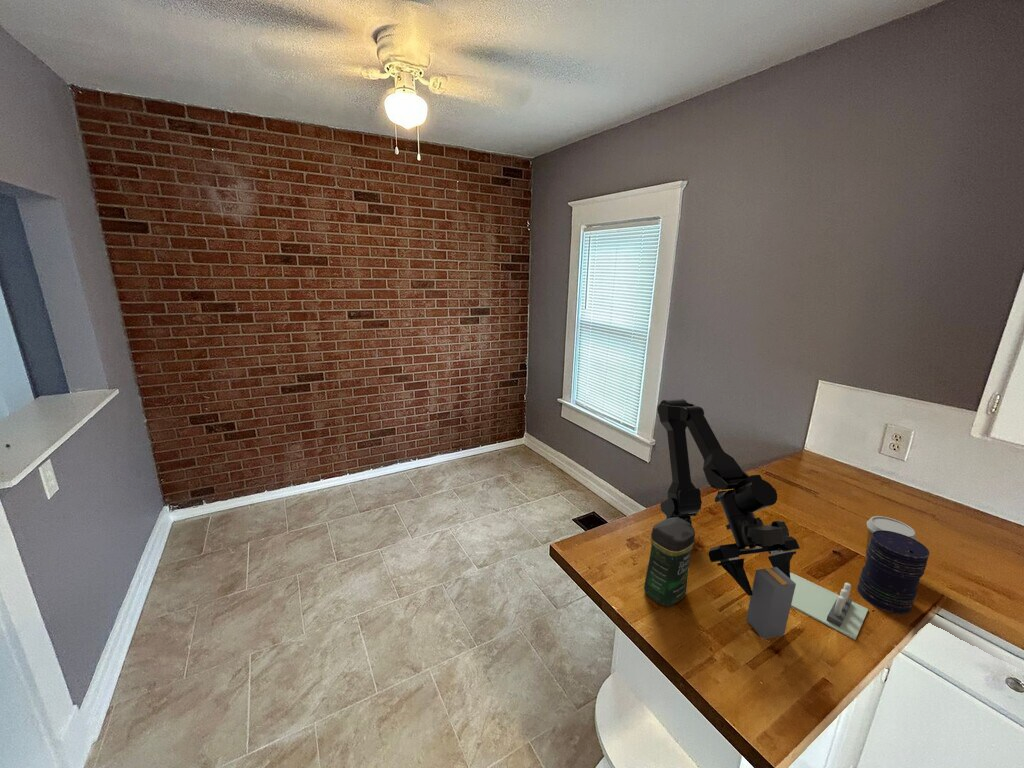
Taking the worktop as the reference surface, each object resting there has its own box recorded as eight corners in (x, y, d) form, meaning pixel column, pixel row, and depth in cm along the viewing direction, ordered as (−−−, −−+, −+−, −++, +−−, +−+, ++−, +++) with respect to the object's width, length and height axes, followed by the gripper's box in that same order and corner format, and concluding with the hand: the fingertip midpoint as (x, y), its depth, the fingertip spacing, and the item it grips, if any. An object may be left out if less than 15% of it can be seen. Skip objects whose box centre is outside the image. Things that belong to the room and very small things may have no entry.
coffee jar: (667, 613, 93) (677, 541, 88) (638, 591, 99) (645, 523, 94) (692, 594, 99) (702, 525, 94) (663, 574, 105) (671, 509, 100)
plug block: (746, 619, 92) (756, 568, 88) (765, 616, 93) (776, 565, 89) (763, 639, 87) (774, 585, 83) (784, 635, 88) (796, 582, 84)
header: (770, 595, 98) (775, 574, 97) (787, 572, 106) (792, 552, 104) (855, 640, 87) (862, 616, 85) (867, 610, 94) (874, 588, 93)
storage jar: (846, 581, 103) (860, 529, 99) (887, 583, 103) (903, 530, 99) (879, 614, 94) (896, 557, 89) (924, 615, 93) (943, 558, 89)
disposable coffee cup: (864, 573, 106) (876, 532, 103) (851, 550, 115) (861, 511, 111) (912, 583, 103) (926, 541, 100) (894, 559, 111) (906, 519, 108)
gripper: (724, 512, 87) (755, 596, 79) (801, 504, 90) (837, 583, 83) (696, 524, 96) (722, 599, 89) (767, 516, 100) (797, 588, 92)
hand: (769, 592), depth 88 cm, fingers open, 9 cm apart
